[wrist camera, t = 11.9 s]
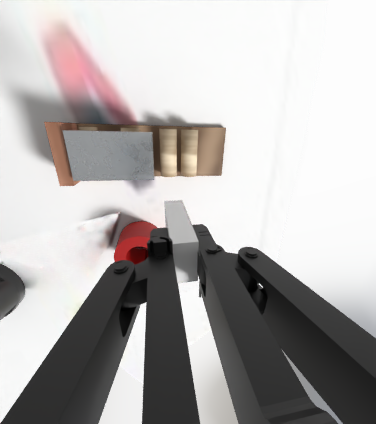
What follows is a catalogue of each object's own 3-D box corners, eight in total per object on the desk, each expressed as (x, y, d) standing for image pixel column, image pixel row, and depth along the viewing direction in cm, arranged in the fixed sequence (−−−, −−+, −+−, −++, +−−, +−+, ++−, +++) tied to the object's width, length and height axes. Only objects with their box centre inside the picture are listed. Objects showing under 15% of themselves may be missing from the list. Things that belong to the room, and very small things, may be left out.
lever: (110, 233, 42) (103, 251, 36) (147, 213, 42) (146, 228, 35) (154, 284, 50) (154, 306, 44) (186, 268, 49) (190, 287, 43)
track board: (76, 175, 36) (60, 185, 30) (65, 123, 32) (44, 121, 26) (219, 174, 40) (231, 183, 34) (224, 127, 37) (238, 127, 30)
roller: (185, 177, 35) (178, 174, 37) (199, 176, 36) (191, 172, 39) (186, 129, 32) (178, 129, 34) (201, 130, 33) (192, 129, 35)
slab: (82, 175, 32) (73, 180, 29) (73, 130, 30) (62, 130, 26) (154, 174, 34) (154, 179, 31) (152, 132, 32) (151, 132, 28)
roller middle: (164, 177, 34) (158, 174, 37) (179, 176, 36) (172, 173, 38) (163, 128, 31) (156, 128, 34) (179, 129, 32) (172, 129, 35)
